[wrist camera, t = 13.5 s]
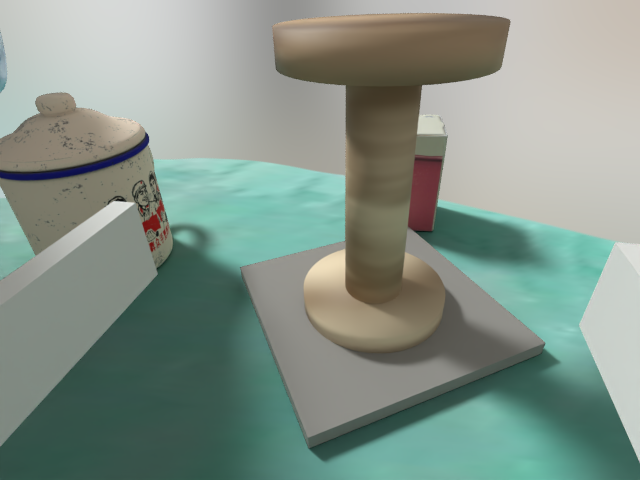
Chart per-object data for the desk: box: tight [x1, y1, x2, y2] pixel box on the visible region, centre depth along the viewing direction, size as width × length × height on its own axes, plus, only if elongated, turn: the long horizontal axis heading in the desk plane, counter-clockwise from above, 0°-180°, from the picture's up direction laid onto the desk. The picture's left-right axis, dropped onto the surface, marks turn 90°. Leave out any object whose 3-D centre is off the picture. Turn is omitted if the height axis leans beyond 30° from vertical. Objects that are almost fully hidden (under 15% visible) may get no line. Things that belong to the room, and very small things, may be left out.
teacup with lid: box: [0, 93, 173, 268], centre depth 28 cm, size 12×9×12 cm
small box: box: [408, 115, 448, 231], centre depth 31 cm, size 5×4×8 cm
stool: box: [272, 13, 510, 354], centre depth 20 cm, size 9×9×14 cm
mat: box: [240, 227, 545, 448], centre depth 24 cm, size 13×13×1 cm
